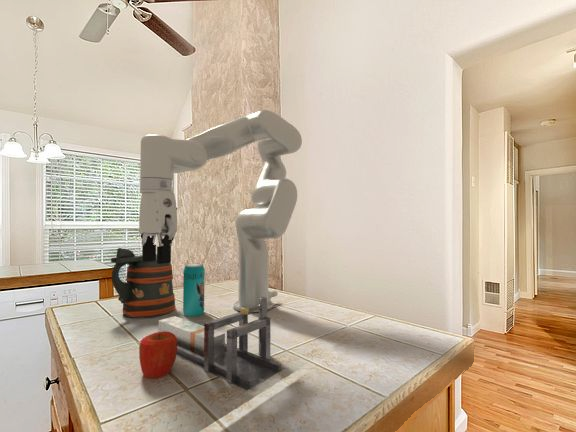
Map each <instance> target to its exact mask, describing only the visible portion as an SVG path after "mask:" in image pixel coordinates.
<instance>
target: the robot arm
mask: <svg viewBox="0 0 576 432" xmlns="http://www.w3.org/2000/svg"><path fill="white" fill-rule="evenodd" d="M255 142H257V150H258V153H259V156H260V158H261V162H262V169H261V171H260V175H259V177H258V179H257V181H256V183H255V186H254V189H253V191H252V193H251V202H252V204H253V205H254V206H255V207H252V208H251V207H250V208H247V209H243V210H242V211H240V212H239V213H238V214H237V217H236V219H235V230H236V235H237V243H238V244H237V245H238V301H235V302H234V303H233V309H234V311H237V312H241V308H248V307H252V306H255V305H258V304H259V298H260V297H267V311H270V310H271V309H273V308H274V302H273V300H272V301H271V299H272V298H276V297H277V296H278V292H277V290H273V291H270V290H269V248H268V247H269V246H268V245H267V242H266V240H265V239H269V240H270V239H271V240H273V239H279V238H281V237H282V236H283V235H284V234H285V232H286V231H287V229H288V227H289V223H290V221H291V218H292V215H293V213H294V211H295V207H296V205H297V201H298V189H297V186H296V184H295V182H293V181H292V180H291V179H289V178H287V168H286V167H285V165H284V162H283V160H282V159H281V156H284V155H285V156H286V155H289V154H294V153H296V152H298V151H299V150H300V148H301V146H302V143H303V138H302V135H301V132H300V131H299V130H298V129H297V127H295V126H294V125H293V124H291V122H288V120H286V119H285V118H283V117H282V116H280V115H279V114H277V113H275V112H273V111H272V110H269V109H262V110H261V109H260V110H258V111H256V112H253V113H249V114H246V115H244V116H241V117H239V118H236V119H234V120H230V121H228V122H225V123H223V124H220V125H217V126H214V127H212V128H210V129H207V130H206V131H204V132H202V133H199V134H198V135H194V136H191V137H190V138H187V139H180V138H179V139H178V138H172V137H168V136H166V135H161V134H147V135H143V137H142V138H141V140H140V161H139V162H140V165H139V166H140V169H139V170H140V173H139V175H140V176H139V193H140V194H141V196H140V204H139V214H138V215H139V218H138V219H139V220H138V224H139V225H138V232H139V235H140V238H141V239H140V240H141V245H142V247H141V248H142V249H141V250H142V252H141V253H142V254H141V255H142V261H144V262H145V261H155V260H156V254H157V263H158V264H163V263H171V261H172V246H173V241H174V239H175V236H176V234H177V233H178V210H177V209H178V208H177V202H176V201H177V199H176V196H175V184H174V183H175V179H174V178H175V174H181V173H185V172H191V171H195V170H199V169H201V168H202V167H204V166H205V165H206V163H207V161H209V160H212V159H217V158H221V157H224V156H227V155H231V154H233V153H235V152H237V151H238V150H242V149H243V148H244V147H247V146H249V145H251V144H254V143H255ZM156 237H157V243H158V246H157V244H155V242H156ZM251 313H259V310H255V311H252V312H251Z"/></svg>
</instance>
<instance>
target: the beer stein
mask: <svg viewBox="0 0 576 432" xmlns="http://www.w3.org/2000/svg"><path fill="white" fill-rule="evenodd" d="M116 250H117V251H116V257H111V259H110V262H111V263H114V266H113V267H112V268H113V269H112V270H111V271H112V272H111V282H112V286H113V287H114V289H115V291H116V293H117V294H118V296H119V297H118V298H117V299H118V301H119V302H120V303H121V304H122V314H123V316H126V317H128V318H135V319H136V318H137V319H138V318H151V317H157V316H163V315H166V314H170V313H172V312H174V311H175V309H176V298H175V293H174V285H173V279H174V275H173V265H172V263H171V262H170V263H163V264H158V263H157V253H156V260H155V261H145V262H144V261H142V254H141V255H135V254H134V252H133V251H132V250H130V249H127V248H122V247H118V248H117V249H116ZM125 265H128V266H127V268H126V275H125V282H124V281H122V280H121V278H120V276H119V273H120V270H121V269H122V267H124V266H125Z"/></svg>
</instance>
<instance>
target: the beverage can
mask: <svg viewBox="0 0 576 432" xmlns="http://www.w3.org/2000/svg"><path fill="white" fill-rule="evenodd" d="M182 278H183V279H182V280H183V282H182V284H183V288H182V289H183V290H182V291H183V293H182V294H183V295H182V296H183V297H182V299H183V300H182V312H183V315H184V316H185V317H193V318H194V317H199V316H202V315H203V314H204V312H205V267H204V263H197V262H195V263H187V264H186V263H185V264H184V269H183V277H182Z"/></svg>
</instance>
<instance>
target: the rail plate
mask: <svg viewBox="0 0 576 432" xmlns="http://www.w3.org/2000/svg"><path fill="white" fill-rule="evenodd" d="M177 357H178V358H180V359H182V360H184V361H185V362H187V363H190V364H192V365H194V366H196V367H198V368H200V369H202V370H204V357H202V356H200V355H197V354H195V353H193V352H191V351H188V350H186V349H184V348H182V347H180V346H177V355H176V358H177ZM284 369H285V368H284V367H282V364H281V363H279V362H276V361H274V360H271V359H270V360H269V359H263V358H261V356H259V354H255V353H253V352H249V351H248V352H247V351H245V350H244V351H242V350H239V347H237V375H236V381H235V382H233V383H232V384H233V385H235V386H237V387H239V388H241V389H243V390H244V391H245V390H246V391H249V390H251V389H252V388H254V387H255V386H257V385H260V384H261V383H263V382H264V381H266V380H268V379H269V378H271V377H272V376H275V375H276V374H278V373H279V372H281V371H283V370H284ZM209 373H210V374H211V375H215V376H217V377H219V378H220V379H223V380H224V381H226V378H227V342H225V354H223V355H221V356H219V357H216V358H214V364H213V366H212V371H210V372H209Z"/></svg>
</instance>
